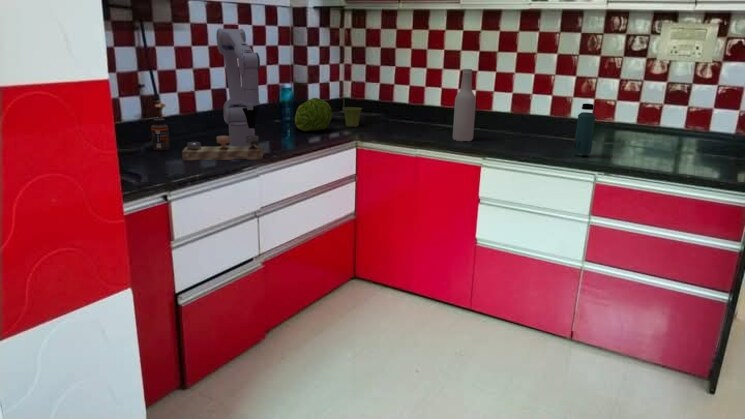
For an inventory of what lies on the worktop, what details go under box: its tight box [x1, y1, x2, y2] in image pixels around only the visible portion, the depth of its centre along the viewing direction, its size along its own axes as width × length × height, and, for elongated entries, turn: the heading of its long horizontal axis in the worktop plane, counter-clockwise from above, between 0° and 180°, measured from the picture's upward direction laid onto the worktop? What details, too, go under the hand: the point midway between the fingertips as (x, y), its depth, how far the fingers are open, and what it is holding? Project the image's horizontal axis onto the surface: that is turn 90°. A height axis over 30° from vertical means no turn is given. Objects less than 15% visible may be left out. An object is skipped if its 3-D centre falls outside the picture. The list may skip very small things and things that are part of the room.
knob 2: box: [246, 135, 260, 148], centre depth 199 cm, size 4×4×4 cm
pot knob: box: [216, 135, 230, 148], centre depth 198 cm, size 4×4×4 cm
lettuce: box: [294, 97, 333, 132], centre depth 258 cm, size 15×25×16 cm
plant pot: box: [342, 106, 363, 128], centre depth 274 cm, size 9×9×9 cm
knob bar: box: [181, 145, 264, 161], centre depth 199 cm, size 27×9×3 cm, turn 100°
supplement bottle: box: [150, 118, 171, 151], centre depth 208 cm, size 6×6×11 cm
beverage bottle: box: [572, 102, 596, 155], centre depth 212 cm, size 6×7×20 cm
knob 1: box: [187, 141, 202, 150], centre depth 197 cm, size 4×4×4 cm
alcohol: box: [452, 68, 477, 142], centre depth 240 cm, size 9×9×30 cm
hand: (251, 128), depth 198 cm, fingers closed
